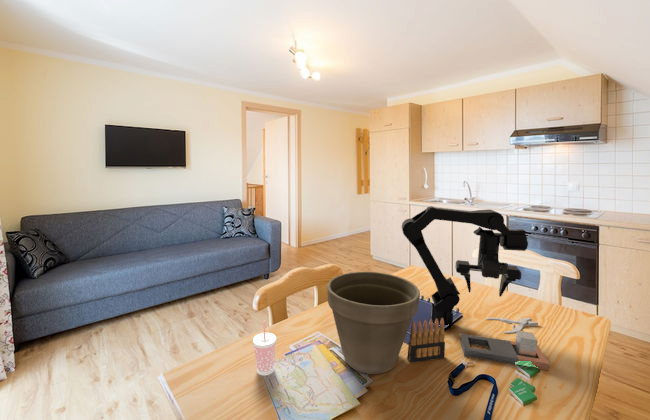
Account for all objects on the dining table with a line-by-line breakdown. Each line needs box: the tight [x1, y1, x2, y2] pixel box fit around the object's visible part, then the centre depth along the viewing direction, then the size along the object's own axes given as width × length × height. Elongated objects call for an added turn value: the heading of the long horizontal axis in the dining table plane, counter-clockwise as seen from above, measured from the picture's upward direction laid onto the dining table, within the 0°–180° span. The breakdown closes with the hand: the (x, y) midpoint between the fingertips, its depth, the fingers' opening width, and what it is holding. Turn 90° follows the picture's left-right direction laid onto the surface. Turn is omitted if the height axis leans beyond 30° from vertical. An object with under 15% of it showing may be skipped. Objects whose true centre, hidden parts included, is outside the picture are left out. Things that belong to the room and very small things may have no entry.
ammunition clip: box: [407, 318, 446, 364], centre depth 88 cm, size 11×2×12 cm, turn 102°
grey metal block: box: [515, 330, 538, 358], centre depth 88 cm, size 4×4×7 cm
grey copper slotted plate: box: [460, 333, 550, 371], centre depth 91 cm, size 21×9×2 cm, turn 73°
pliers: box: [485, 317, 539, 334], centre depth 107 cm, size 10×2×15 cm
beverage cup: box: [252, 320, 277, 376], centre depth 82 cm, size 6×6×14 cm
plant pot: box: [326, 271, 421, 375], centre depth 87 cm, size 25×25×22 cm
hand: (484, 294), depth 104 cm, fingers open, 9 cm apart
